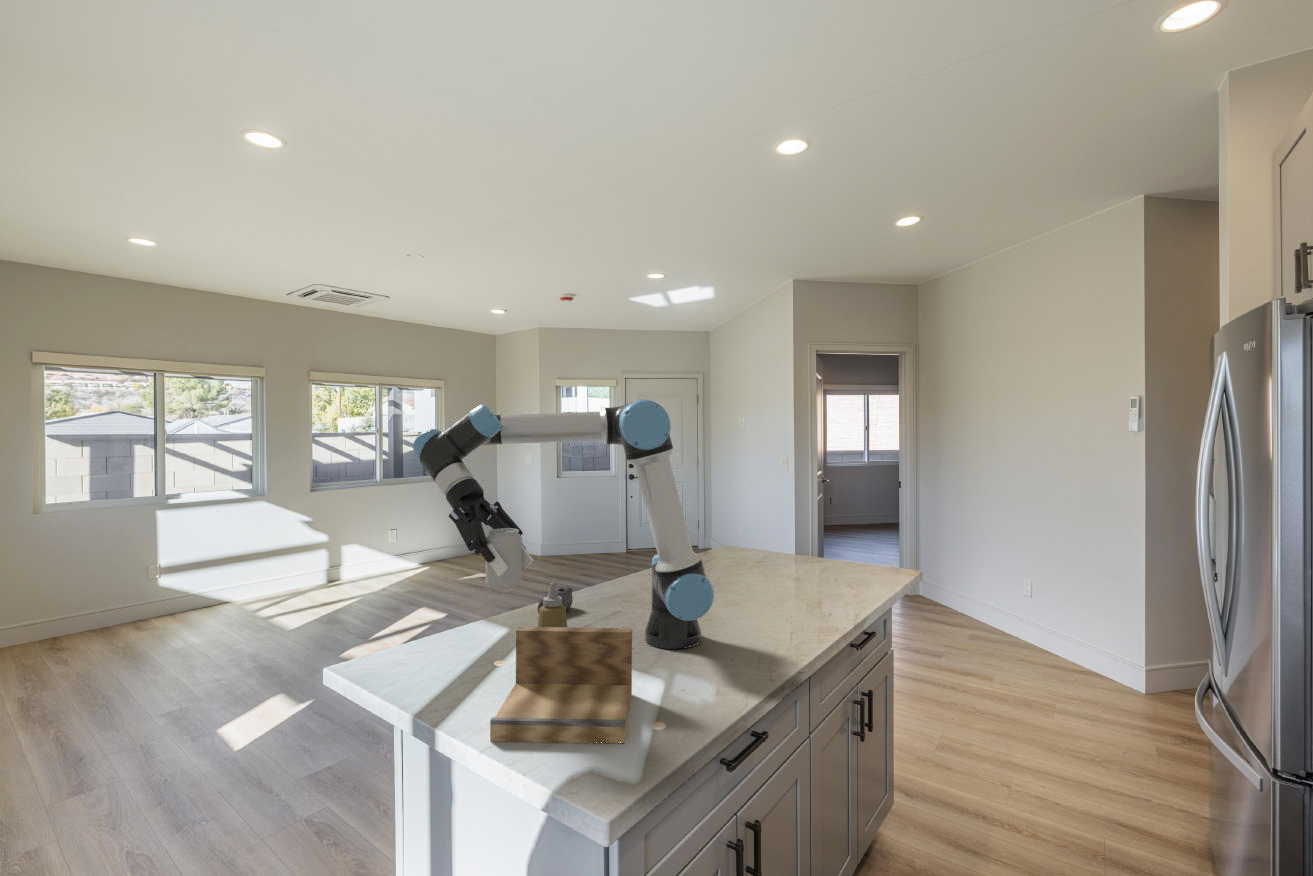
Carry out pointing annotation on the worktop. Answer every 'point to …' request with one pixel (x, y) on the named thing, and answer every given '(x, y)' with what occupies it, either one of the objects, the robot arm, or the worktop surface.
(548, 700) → the wooden l-shaped piece
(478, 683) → the worktop surface
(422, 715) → the worktop surface
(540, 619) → the squeeze bottle
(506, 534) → the can
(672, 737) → the worktop surface
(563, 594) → the perforated stone tool
